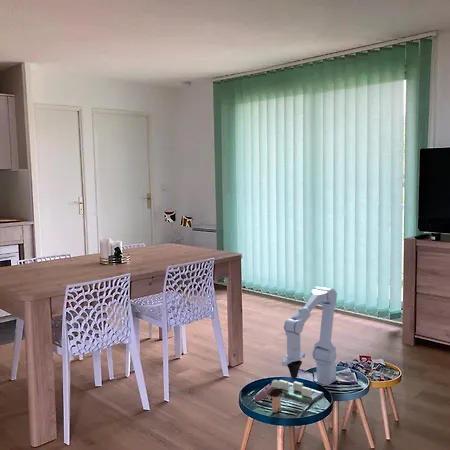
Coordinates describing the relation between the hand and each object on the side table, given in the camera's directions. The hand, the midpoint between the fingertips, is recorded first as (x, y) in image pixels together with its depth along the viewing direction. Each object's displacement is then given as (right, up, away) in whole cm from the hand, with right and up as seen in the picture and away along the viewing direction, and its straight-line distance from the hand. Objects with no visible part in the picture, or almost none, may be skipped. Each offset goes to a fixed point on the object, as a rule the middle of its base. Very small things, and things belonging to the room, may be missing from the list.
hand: (294, 377), depth 220 cm
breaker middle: (+2, -6, +3) cm, 7 cm away
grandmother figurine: (-9, -10, -12) cm, 18 cm away
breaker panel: (+2, -8, +3) cm, 9 cm away
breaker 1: (-4, -6, +5) cm, 9 cm away
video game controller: (-12, -9, 0) cm, 15 cm away
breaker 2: (+5, -7, -3) cm, 9 cm away
